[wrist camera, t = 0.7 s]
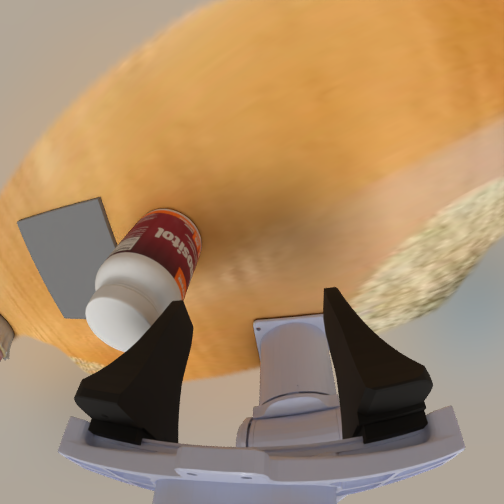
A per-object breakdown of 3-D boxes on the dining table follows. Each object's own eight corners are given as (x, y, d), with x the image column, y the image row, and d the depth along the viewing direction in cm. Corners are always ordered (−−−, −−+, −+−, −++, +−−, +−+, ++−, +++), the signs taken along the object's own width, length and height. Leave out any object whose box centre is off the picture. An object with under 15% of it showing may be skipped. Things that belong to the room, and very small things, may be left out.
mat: (147, 316, 29) (146, 319, 29) (66, 315, 31) (64, 318, 30) (100, 197, 22) (97, 198, 22) (19, 220, 24) (16, 222, 23)
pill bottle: (216, 253, 25) (190, 353, 15) (161, 276, 26) (120, 368, 17) (178, 193, 22) (120, 272, 13) (124, 224, 24) (58, 304, 14)
